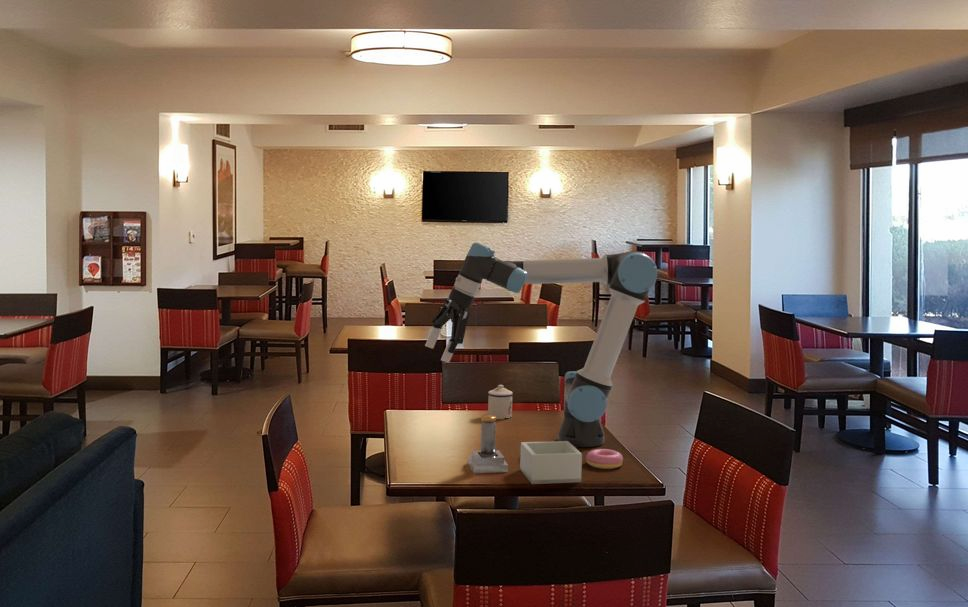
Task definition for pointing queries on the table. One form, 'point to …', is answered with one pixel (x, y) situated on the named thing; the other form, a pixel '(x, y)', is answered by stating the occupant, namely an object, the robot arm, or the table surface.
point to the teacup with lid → (500, 402)
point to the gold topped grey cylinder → (488, 436)
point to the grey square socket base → (487, 463)
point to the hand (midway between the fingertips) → (436, 354)
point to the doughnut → (604, 458)
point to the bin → (550, 462)
